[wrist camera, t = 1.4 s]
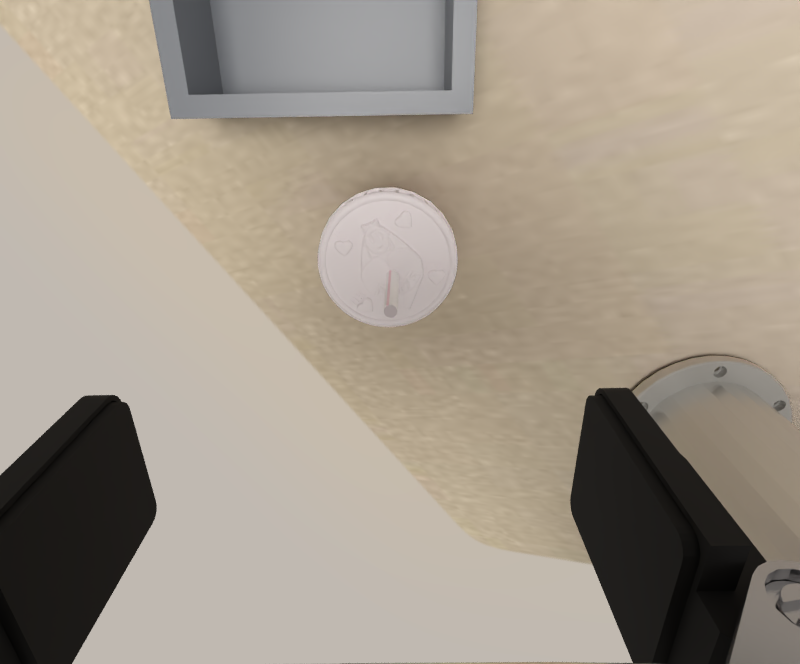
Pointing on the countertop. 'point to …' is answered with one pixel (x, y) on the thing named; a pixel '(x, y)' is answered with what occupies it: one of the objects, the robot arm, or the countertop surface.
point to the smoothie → (387, 257)
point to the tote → (316, 57)
